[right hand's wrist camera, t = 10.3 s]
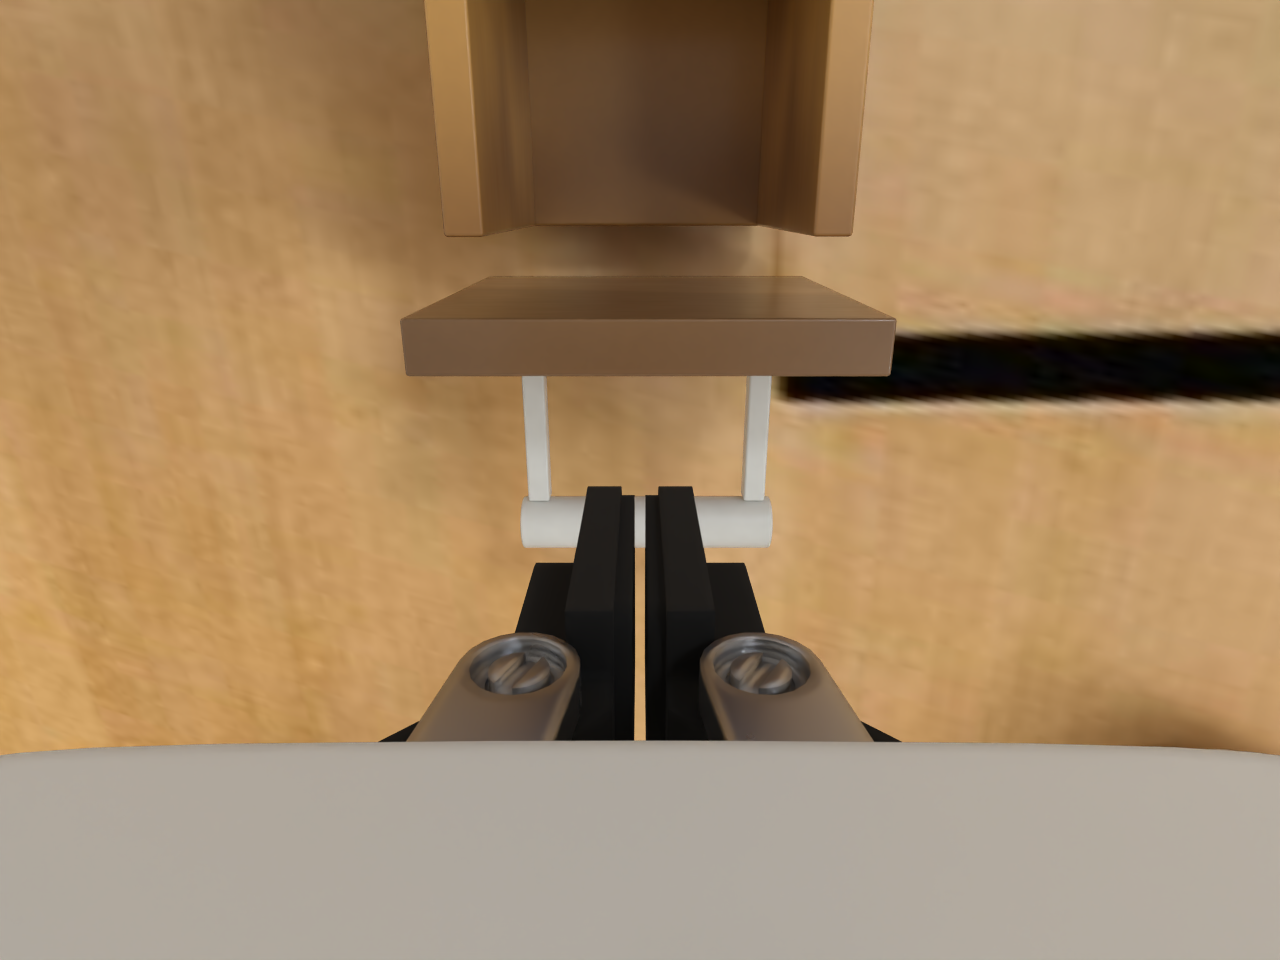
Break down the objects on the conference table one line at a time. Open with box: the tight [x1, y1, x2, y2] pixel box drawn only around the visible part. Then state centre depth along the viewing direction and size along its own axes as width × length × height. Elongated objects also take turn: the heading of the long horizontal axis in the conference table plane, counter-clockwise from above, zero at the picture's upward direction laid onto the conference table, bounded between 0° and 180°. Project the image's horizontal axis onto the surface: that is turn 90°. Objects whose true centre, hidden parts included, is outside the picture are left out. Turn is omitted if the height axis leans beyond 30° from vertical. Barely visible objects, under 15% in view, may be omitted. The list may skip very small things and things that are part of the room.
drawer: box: [400, 0, 896, 548], centre depth 18 cm, size 26×10×10 cm, turn 0°
